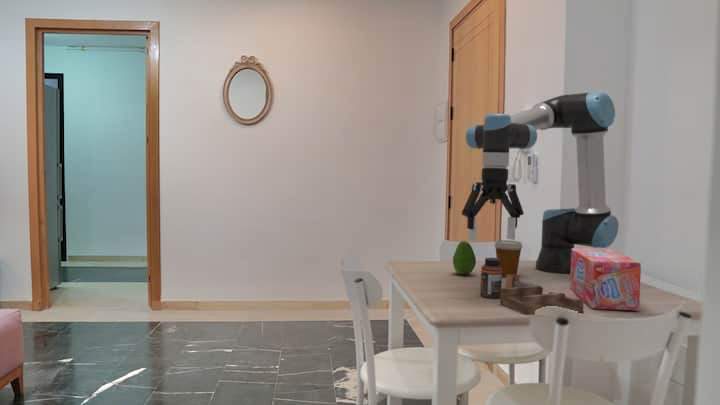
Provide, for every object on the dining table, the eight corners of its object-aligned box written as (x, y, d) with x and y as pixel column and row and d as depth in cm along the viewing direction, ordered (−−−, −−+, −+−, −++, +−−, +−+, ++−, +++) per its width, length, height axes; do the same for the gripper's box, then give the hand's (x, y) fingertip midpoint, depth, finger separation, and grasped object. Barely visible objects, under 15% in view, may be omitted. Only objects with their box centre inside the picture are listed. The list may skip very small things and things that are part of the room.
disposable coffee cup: (522, 279, 187) (523, 244, 186) (493, 277, 189) (495, 243, 188) (520, 274, 196) (521, 240, 195) (492, 272, 198) (494, 239, 197)
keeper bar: (512, 287, 173) (513, 273, 172) (543, 298, 160) (544, 283, 159) (505, 288, 172) (506, 274, 171) (536, 299, 159) (537, 284, 158)
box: (568, 288, 176) (570, 245, 175) (609, 290, 174) (612, 247, 173) (591, 310, 150) (593, 260, 149) (640, 313, 148) (643, 262, 147)
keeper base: (548, 299, 159) (549, 284, 159) (586, 312, 146) (586, 295, 146) (500, 304, 153) (500, 288, 152) (534, 318, 140) (535, 300, 139)
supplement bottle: (477, 293, 165) (479, 256, 164) (496, 293, 165) (498, 256, 164) (483, 298, 159) (485, 260, 158) (503, 298, 159) (505, 260, 159)
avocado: (450, 275, 190) (451, 241, 190) (455, 271, 198) (456, 238, 197) (473, 278, 187) (474, 243, 187) (477, 273, 195) (478, 240, 194)
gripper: (521, 168, 168) (517, 236, 169) (451, 166, 158) (448, 239, 160) (538, 168, 161) (534, 240, 162) (466, 166, 151) (463, 242, 153)
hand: (491, 239), depth 161 cm, fingers open, 13 cm apart
